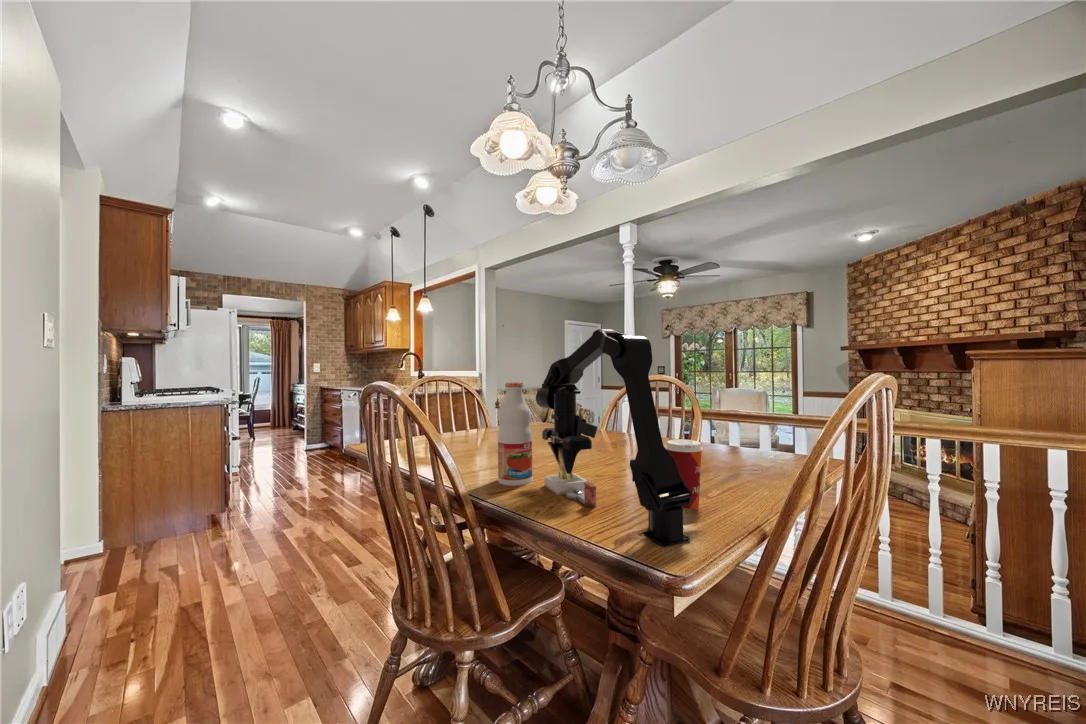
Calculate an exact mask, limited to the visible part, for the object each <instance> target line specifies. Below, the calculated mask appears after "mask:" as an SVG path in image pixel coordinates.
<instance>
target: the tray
mask: <svg viewBox="0 0 1086 724" xmlns="http://www.w3.org/2000/svg"><path fill="white" fill-rule="evenodd" d="M587 482H589V480H587V479H586V478H584V477H582V476H580V475H578V474H577V473H575V472H573V478H572V479H560V478H559V474H553V475H552V474H551V475H546V476H545V475H544V486H545V487H546V488H547V489H549V490H550V491H551V492H552V493H553V494H555V495H556V496H557V495H558V496H559V495H566V490H568V489H572V488H579V489H584V488H585V486H584V483H587Z"/></svg>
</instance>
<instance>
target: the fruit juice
mask: <svg viewBox="0 0 1086 724" xmlns="http://www.w3.org/2000/svg"><path fill="white" fill-rule="evenodd" d="M504 386H505V390H506V392H505V396H504V399H503V403H502V405H501V407H500V408H499V410H498V413H497V419H498V423H499V429H498V430H497V431H498V432H497V473H498V474H497V475H498V477H497V480H498V484H500V485H503V486H515V487H516V486H525V485H528V484H530V483H532V482H533V435H532V434H533V433H532V429H531V425H530V423H531V419H532V412H531V409H530V407H529V406H528V404H527V402H526V400H525V396H524V392H523V389H524V382H505V385H504Z"/></svg>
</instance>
